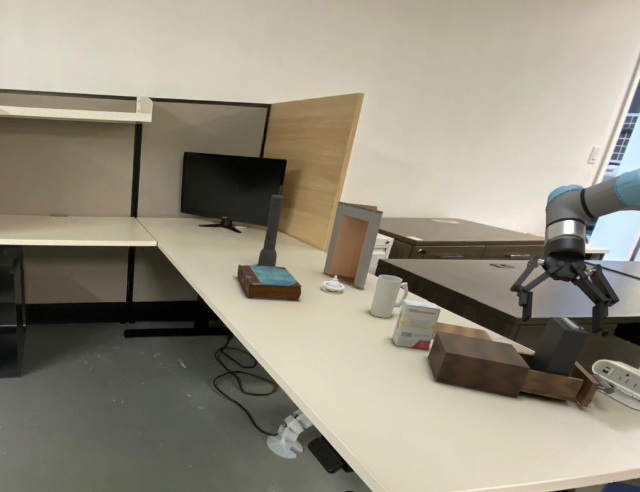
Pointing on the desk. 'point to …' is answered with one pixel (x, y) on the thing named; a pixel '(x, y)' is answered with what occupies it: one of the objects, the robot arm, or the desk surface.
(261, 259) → the flashlight
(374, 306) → the mug
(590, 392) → the drawer
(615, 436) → the desk surface
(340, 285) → the ring around a ball
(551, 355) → the dark grey upright block
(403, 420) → the desk surface
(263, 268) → the book
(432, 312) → the ink box
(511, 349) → the cabinet
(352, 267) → the cabinet
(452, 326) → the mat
